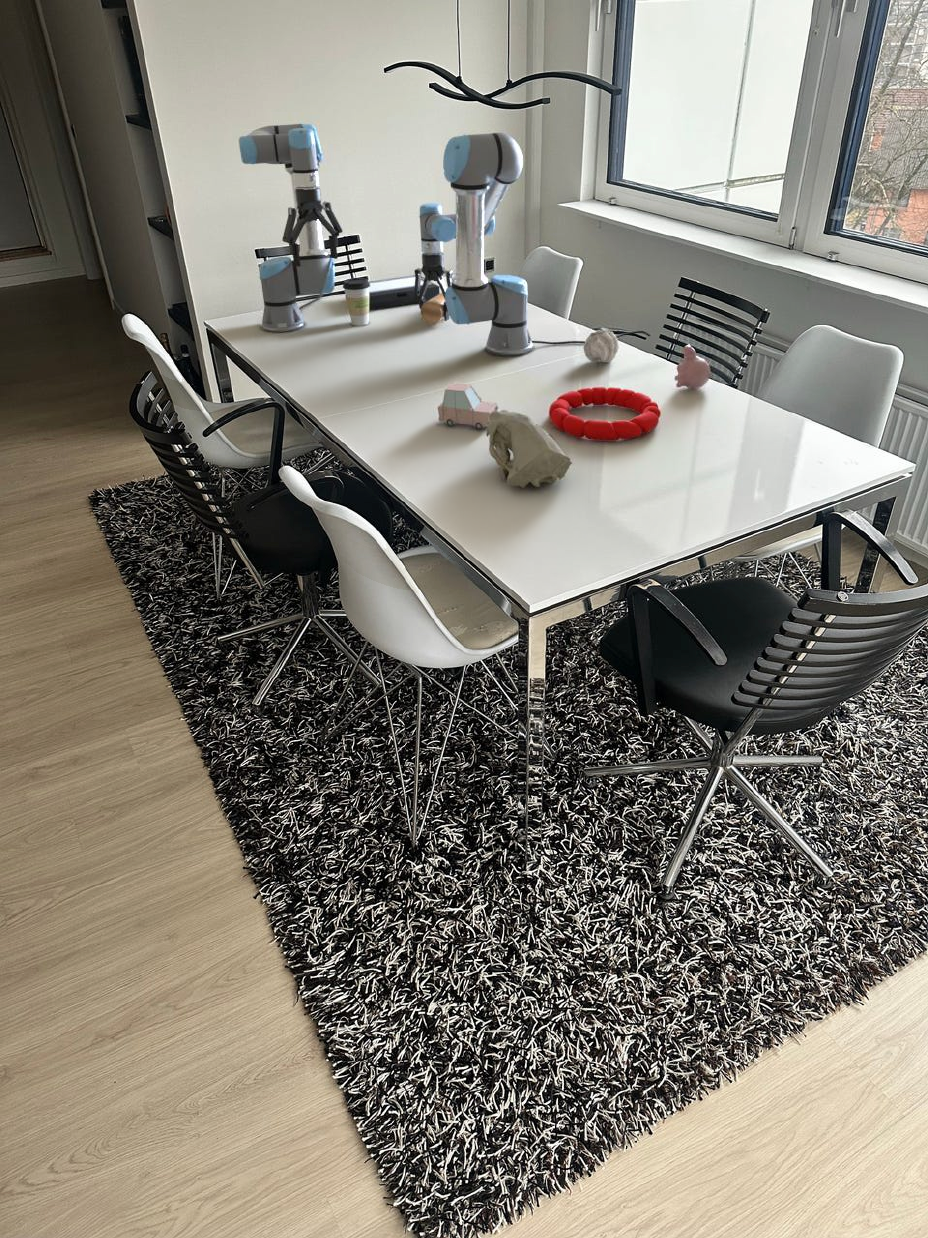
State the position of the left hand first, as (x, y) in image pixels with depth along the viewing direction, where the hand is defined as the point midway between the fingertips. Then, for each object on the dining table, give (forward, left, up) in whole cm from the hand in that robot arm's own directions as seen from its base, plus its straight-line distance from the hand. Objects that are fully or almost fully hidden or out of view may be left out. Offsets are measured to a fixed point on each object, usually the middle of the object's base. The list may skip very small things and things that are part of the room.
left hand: (316, 261), depth 278 cm
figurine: (+57, +104, -30) cm, 122 cm away
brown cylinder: (-36, +46, -29) cm, 65 cm away
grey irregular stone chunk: (+100, +43, -30) cm, 113 cm away
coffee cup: (-36, +14, -30) cm, 49 cm away
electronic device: (-64, +29, -30) cm, 76 cm away
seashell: (+27, +86, -30) cm, 95 cm away
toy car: (+67, +35, -30) cm, 82 cm away
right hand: (-27, +41, -28) cm, 57 cm away
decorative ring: (+75, +72, -30) cm, 108 cm away
